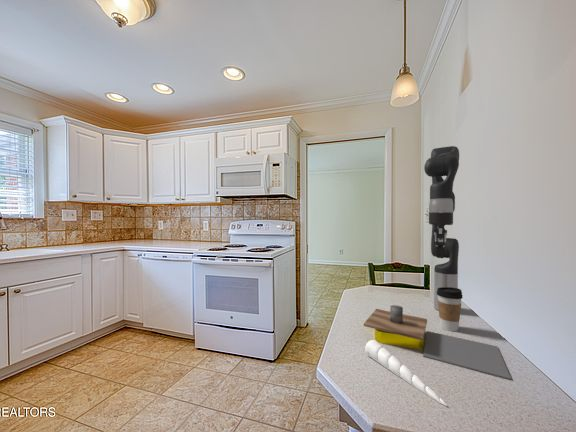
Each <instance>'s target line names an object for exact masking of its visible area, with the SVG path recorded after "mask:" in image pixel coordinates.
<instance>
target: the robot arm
mask: <svg viewBox="0 0 576 432" xmlns="http://www.w3.org/2000/svg"><path fill="white" fill-rule="evenodd" d="M459 161H460V150H459V148H458V147H457V146H455V145H454V146H453V145H451V146H450V145H449V146H442V147H436V148H433V149H432V150H431V152H430V157H429V158H428V159H427V160H426V161H425V164H424V166H423V167H424V173H425V174H426V176H428V177H431V183H432V184H430V187H429V204H428V224H429V225H431V239H430V252H431V255H432V256H433V257H435V258H438V259H449V260H448V261H446V262H444V263H438V264H436V265H434V268H433V269H434V273H433V274H434V278H433V279H434V280H433V288H434V289H433V290H434V291H433V293H434V294H433V295H434V296H433V297H434V298H433V308H434V309H435V310H437V311H439V309H438V295H437V289H438V288H440V287H452V288H458V287H459V281H458V280H459V279H458V277H459V272H458V271H459V270H458V269H459V268H458V267H459V251H460V245H459V240H458V239H457V238H453V237H451V238H450V237H447V236H448V230H447V229H446V228H445V226H452V225H453V224H454V212H455V210H456V209H455V208H456V196H455V193H454V191H453V187H454V183H455V182H454V181H455V178H456V175H457V173H458V169H459V166H460V162H459ZM443 177H445V179H444V178H443ZM458 289H459V288H458Z"/></svg>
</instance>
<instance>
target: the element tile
mask: <svg viewBox="0 0 576 432" xmlns="http://www.w3.org/2000/svg"><path fill="white" fill-rule="evenodd" d="M373 329H374V328H373ZM373 331H374V340H376V341H377V342H378V343H379V344H384V345H391V346H398V347H403V348H410V349H416V350H424V347H425V337H424V338H423V341H422V340H418V339H414V338H410V337H406V336H402V335H398V334H394V333H390V332H386V331H382V330H378V329H374V330H373Z"/></svg>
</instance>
